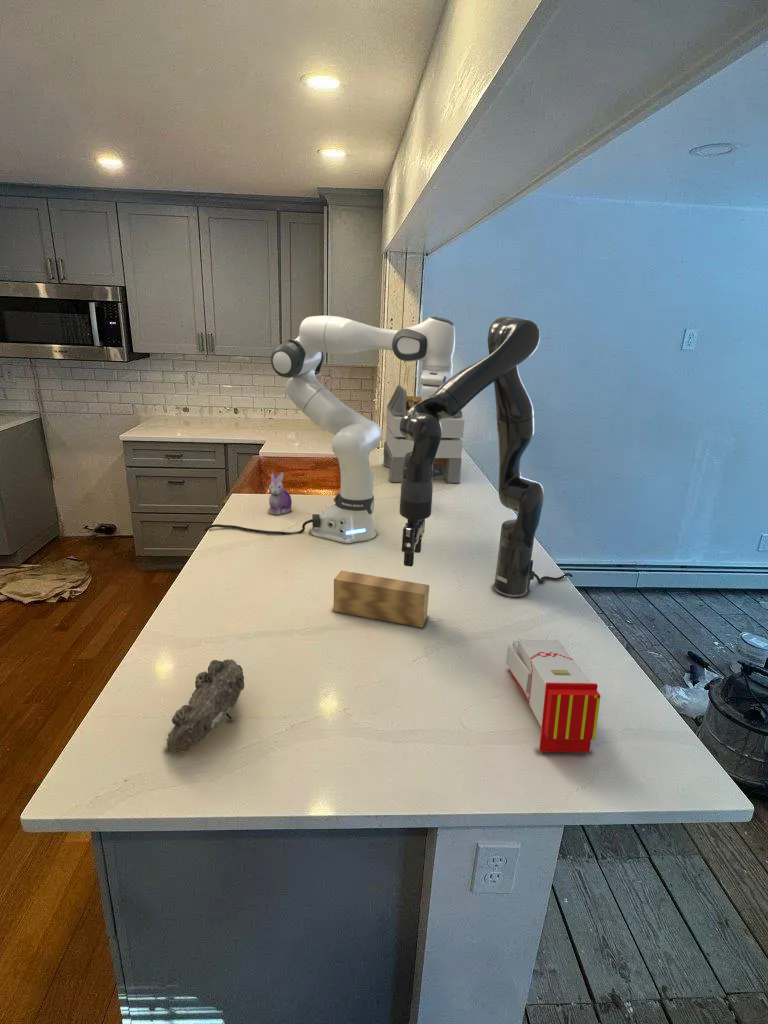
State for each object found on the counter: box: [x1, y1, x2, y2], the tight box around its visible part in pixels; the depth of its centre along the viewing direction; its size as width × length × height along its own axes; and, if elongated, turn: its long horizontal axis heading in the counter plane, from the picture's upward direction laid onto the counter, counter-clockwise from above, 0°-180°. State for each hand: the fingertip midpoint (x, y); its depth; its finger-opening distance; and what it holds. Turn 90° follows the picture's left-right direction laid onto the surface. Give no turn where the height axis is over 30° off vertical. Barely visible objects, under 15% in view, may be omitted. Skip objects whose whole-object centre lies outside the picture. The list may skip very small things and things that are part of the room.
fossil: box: [166, 658, 245, 754], centre depth 106 cm, size 22×10×15 cm
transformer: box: [383, 384, 465, 484], centre depth 268 cm, size 34×33×41 cm
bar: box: [333, 569, 430, 628], centre depth 145 cm, size 24×6×9 cm, turn 74°
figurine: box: [268, 471, 293, 515], centre depth 214 cm, size 9×10×15 cm
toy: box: [505, 638, 602, 753], centre depth 114 cm, size 12×13×30 cm
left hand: (432, 422), depth 171 cm, fingers open, 8 cm apart
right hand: (412, 558), depth 140 cm, fingers open, 8 cm apart
